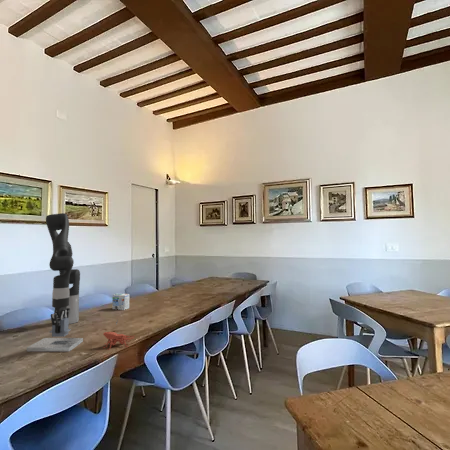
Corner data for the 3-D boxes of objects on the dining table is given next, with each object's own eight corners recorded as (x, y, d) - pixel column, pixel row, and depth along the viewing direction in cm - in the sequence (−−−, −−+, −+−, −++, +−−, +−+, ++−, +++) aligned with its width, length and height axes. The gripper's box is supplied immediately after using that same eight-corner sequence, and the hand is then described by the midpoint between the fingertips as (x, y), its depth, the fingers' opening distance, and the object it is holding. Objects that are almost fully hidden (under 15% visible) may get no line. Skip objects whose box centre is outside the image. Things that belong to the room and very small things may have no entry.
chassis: (44, 341, 161) (44, 337, 161) (82, 341, 161) (82, 338, 161) (26, 351, 147) (26, 347, 147) (69, 351, 147) (69, 347, 147)
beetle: (101, 351, 149) (101, 324, 149) (104, 342, 161) (105, 317, 161) (134, 348, 152) (134, 322, 153) (135, 340, 164) (135, 315, 165)
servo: (53, 334, 156) (54, 317, 157) (70, 334, 156) (71, 317, 157) (49, 336, 152) (49, 319, 153) (66, 336, 152) (66, 319, 153)
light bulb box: (111, 309, 234) (112, 294, 234) (117, 307, 241) (117, 293, 241) (124, 310, 231) (124, 295, 232) (129, 308, 238) (129, 293, 238)
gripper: (61, 294, 162) (60, 327, 162) (45, 299, 148) (44, 336, 147) (75, 294, 162) (74, 327, 161) (60, 299, 148) (60, 336, 147)
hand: (60, 331), depth 154 cm, fingers closed on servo, 4 cm apart
